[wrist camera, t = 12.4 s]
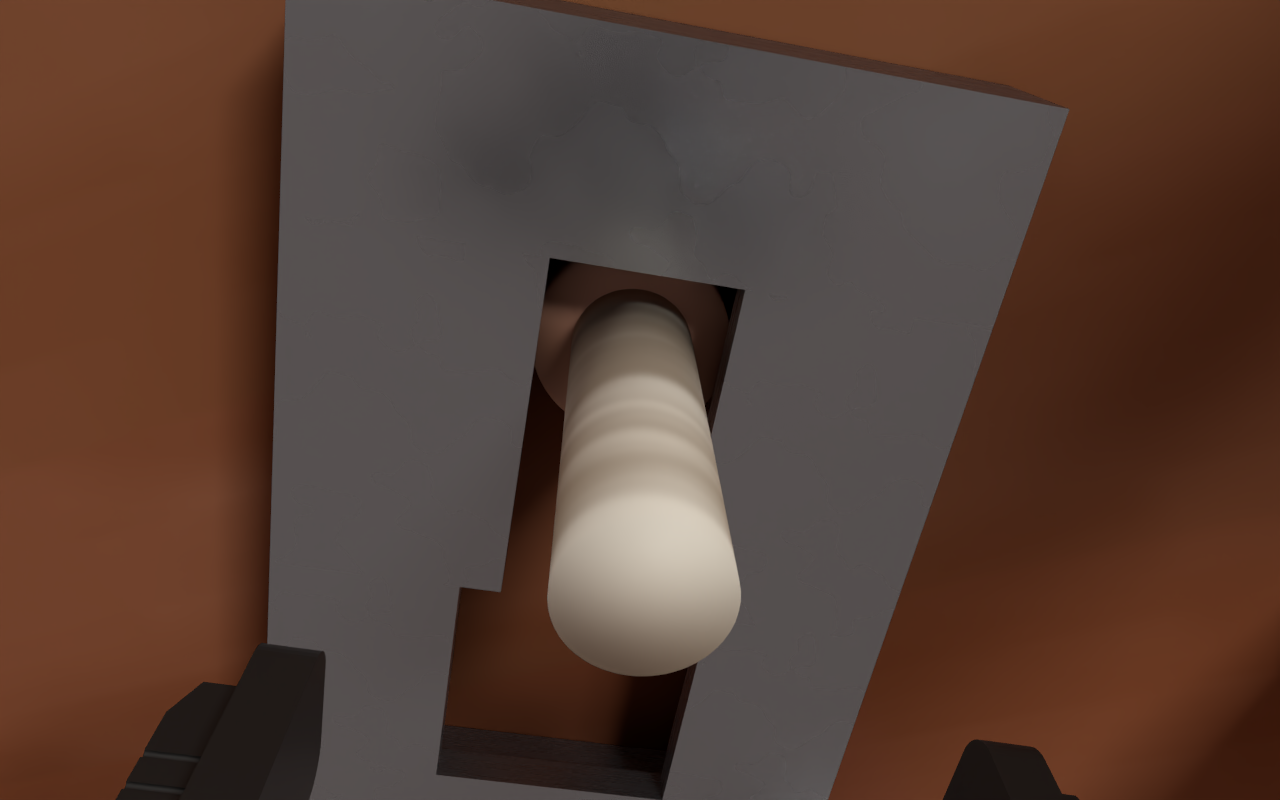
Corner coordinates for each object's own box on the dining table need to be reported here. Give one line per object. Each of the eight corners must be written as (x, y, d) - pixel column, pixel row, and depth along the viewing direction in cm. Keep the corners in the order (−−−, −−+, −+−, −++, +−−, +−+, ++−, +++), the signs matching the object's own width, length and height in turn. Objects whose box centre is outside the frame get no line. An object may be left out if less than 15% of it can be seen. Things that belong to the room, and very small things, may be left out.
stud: (549, 216, 25) (502, 434, 14) (743, 249, 26) (842, 484, 15) (524, 395, 27) (465, 704, 16) (704, 422, 28) (764, 739, 17)
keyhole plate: (332, -44, 22) (286, -39, 19) (1009, 85, 24) (1069, 109, 21) (295, 755, 32) (261, 844, 29) (775, 809, 34) (792, 900, 31)
